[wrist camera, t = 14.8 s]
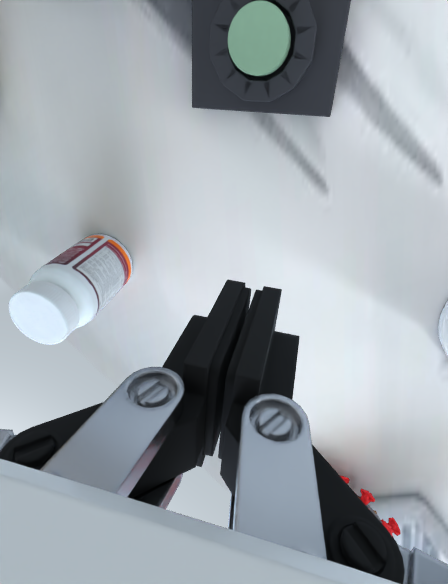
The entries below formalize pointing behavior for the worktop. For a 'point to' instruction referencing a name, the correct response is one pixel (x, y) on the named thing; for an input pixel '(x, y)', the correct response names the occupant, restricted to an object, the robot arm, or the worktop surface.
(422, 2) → the worktop surface
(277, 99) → the block
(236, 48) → the button
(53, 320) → the pill bottle
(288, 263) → the worktop surface
